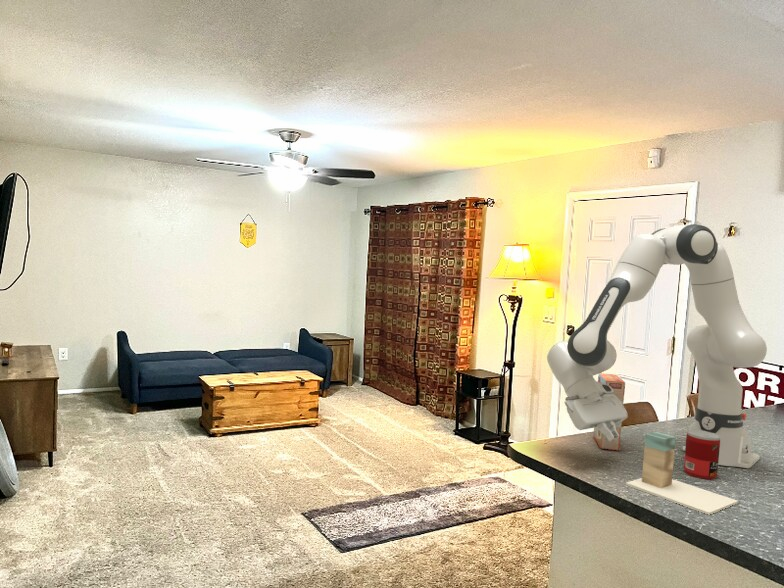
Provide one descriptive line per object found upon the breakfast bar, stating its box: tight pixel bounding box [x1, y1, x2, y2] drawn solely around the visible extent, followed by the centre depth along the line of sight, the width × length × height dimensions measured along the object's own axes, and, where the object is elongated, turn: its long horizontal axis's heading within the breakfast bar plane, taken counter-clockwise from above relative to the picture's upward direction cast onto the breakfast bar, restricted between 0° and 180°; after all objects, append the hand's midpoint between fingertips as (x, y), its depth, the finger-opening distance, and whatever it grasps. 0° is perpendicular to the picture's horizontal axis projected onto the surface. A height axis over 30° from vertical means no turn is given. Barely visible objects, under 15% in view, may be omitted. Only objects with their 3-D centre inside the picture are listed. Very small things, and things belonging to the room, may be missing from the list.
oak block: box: [641, 431, 676, 488], centre depth 144 cm, size 5×5×12 cm
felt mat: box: [625, 477, 739, 516], centre depth 139 cm, size 14×20×1 cm
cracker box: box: [592, 372, 626, 452], centre depth 179 cm, size 14×6×21 cm, turn 168°
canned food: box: [683, 430, 720, 480], centre depth 155 cm, size 8×8×11 cm
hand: (614, 439), depth 154 cm, fingers closed
